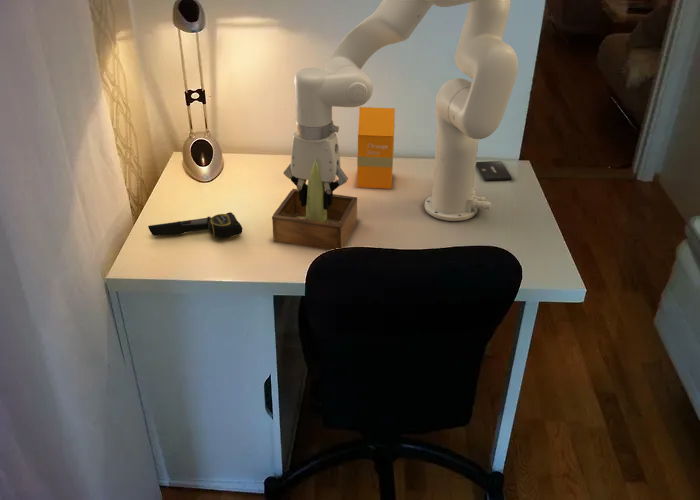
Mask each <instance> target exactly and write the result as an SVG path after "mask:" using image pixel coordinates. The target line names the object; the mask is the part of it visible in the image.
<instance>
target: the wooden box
mask: <svg viewBox="0 0 700 500" xmlns="http://www.w3.org/2000/svg"><path fill="white" fill-rule="evenodd" d="M296 215H299V216H305V217H306V205H305V206H304V207H303V206H301V201H300V200H299V190H298V189H297V188H292V189H291V190H290V191H289V193H287V195H286V197H284V199H283V201H282V202H281V203H280V204H279V206H278V207H277V209H276V210H275V212H273V214H272V216H271V220H272V221H271V223H272V237H273V239H272V240H273V242H277V243H283V244H288V245H289V244H290V245H296V246H302V247H309V248H314V249H321V250H329V251H332V250H331V249H336V248H342V247H343V248H344V246H345V245H346V242H347V241H348V239H349V237H350V235H351V233H352V232H353V229H354V227H355V226H356V224H357V222H358V196H357V197H356V196H350V195H342V194H336V193H333V203H332V205H330V206H329V208H328V209H327V220H334V221H338V223H334V222H333V223H332V222H328V221H327V222H320V221H313V220H306V218H299V217H295V216H296ZM343 248H342V249H343Z"/></svg>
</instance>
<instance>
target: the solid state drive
mask: <svg viewBox="0 0 700 500" xmlns="http://www.w3.org/2000/svg"><path fill="white" fill-rule="evenodd" d="M476 167H477V168H478V171H479V172H480V174H481V175H482V177H483V179H484V180H485V181H487V182H489V181H511V180H512V178H513V177H512V175H511V173H510V172H509V171H508V169H507V167H506V166H505V164H504V162H502V161H501V160H492V161H491V160H489V161H476Z"/></svg>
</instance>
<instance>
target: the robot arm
mask: <svg viewBox="0 0 700 500" xmlns="http://www.w3.org/2000/svg"><path fill="white" fill-rule="evenodd" d="M466 4H468V7H467V11H466V15H465V19H464V23H463V26H462V29H461V33H460V36H459V39H458V43H457V45H456V49H455V53H454V63H455V65H456V67H457V68H458V69H459V71H460V72H461V73H463V74H464V75H465V76H467V77H469V78H470V79H471V81H470V80H468V79H465V78H462V77H461V78H460V77H457V78H455V77H454V78H451V79H449V80H447V81H445V82H444V83H443V84H442V85H441V86H440V88H439V90H438V92H437V94H436V99H435V118H436V139H435V141H436V142H435V154H434V165H433V177H432V189H431V195H430V196H428V197H427V198H426V199H425V200H424V210H425V211H426V213H427V214H428V215H430V216H431V217H433V218H436V219H437V220H442V221H448V222H459V221H460V222H461V221H466V220H469V219H471V218H473V217H474V216H475V215H476V214H477V212H478V209H482V210H487V211H490V208H491V204H492V203H491V201H487V197H486V196H478V195H476V194H475V191H476V189H474V185H475V184H474V183H475V175H476V167H477V165H476V162H477V157H478V150H479V140H483V139H486V138H489V137H490V136H491V135H492V134H493V133H494V132H496V130H498V128H499V126H500V124H501V122H502V120H503V117H504V115H505V113H506V110H507V106H508V104H509V101H510V97H511V95H512V93H513V89H514V86H515V83H516V80H517V77H518V72H519V60H518V59H519V58H518V56H517V53H516V51H515V49H514V48H513V47H512V46H511V45H510V44H509V43H507V42H505V41H503V39H504V33H505V30H506V26H507V22H508V19H509V16H510V15H509V14H510V11H511V0H381V2H380V3H379V5H378V6H377V7H376V9H375V10H374V11H373V13H371V14H370V15H369V16H367V17H366V18H365V19H363V20H362V21H361V22H360V23H358V24H357V25H356V26H355V27H353V28H352V29H351V30H350V31H348V32H347V34H346V35H345V36H343V38H342V39H341V41H340V42H339V43H338V44H337V46H336V47H335V49H334V50H333V52H332V53H331V55H330V56H329V58H328V59H327V61H326V62H325V66H324V67H323V68H321V67H306V68H305V67H304V68H302V69H300V70H298V71H296V73H295V75H294V104H295V107H294V108H295V127H296V129H295V132H294V133H293V137H292V143H291V152H290V164H288V166H287V167H286V169H284V171H283V175H284V177H287V179H289V180H290V181H291V182H292V183H293V184H294V186H295V187H296V189H298V190H299V200H300V201H301V206H303V207H304V206H305V205H306V203H307V188H308V184H307V181H308V180H309V179H310V175H311V170H312V166H313V164H314V162H315V159H316V162H317V163H318V165H319V170H320V178H321V181H323V183H324V187H325V193H324V209H325V210H327V209H328V208H329V206H330V205H332V203H333V194H334V191H335V190H337V189H338V188H339V187H341V186H343V185H345V184H346V183H347V182H348V180H349V178H348V176H347V174H346V173H345V171H343V169H342V167H341V155H340V147H339V139H338V136H337V133H339V131H340V126H337V125H335V124H334V120H333V107H337V108H358V107H362V106H363V105H365V104H366V103H368V102H369V100H370V99H371V97H372V96H373V91H374V90H373V83H372V81H371V79H370V78H369V76H368V75H367V74H366V73H365V72H364V71H362V68H363V67H364V66H365V64H366V62H367V61H369V59H370V58H371V57H372V56H373V55H374V54H375V53H376V52H378V51H379V50H381V49H382V48H384V47H386V46H389V45H390V46H391V45H394V44H398V43H401V42H405V41H406V40H408V39H409V38H410V37H411V35H412V34H413V32H414V31H415V30H416V28H417V27H418V25H419V24H420V23H421V21H422V20H423V19H424V17H425V16H426V14H427V13H428V12H429V10H430V9H432V7H433V5H434V6H436V7H440V8H449V7H456V6H460V5H461V6H462V5H466ZM336 177H337V178H338V179H336Z"/></svg>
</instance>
